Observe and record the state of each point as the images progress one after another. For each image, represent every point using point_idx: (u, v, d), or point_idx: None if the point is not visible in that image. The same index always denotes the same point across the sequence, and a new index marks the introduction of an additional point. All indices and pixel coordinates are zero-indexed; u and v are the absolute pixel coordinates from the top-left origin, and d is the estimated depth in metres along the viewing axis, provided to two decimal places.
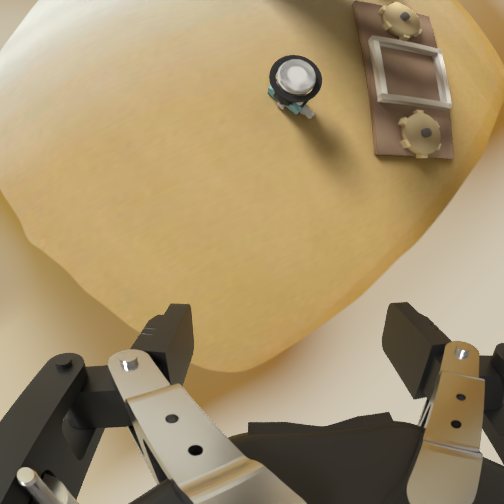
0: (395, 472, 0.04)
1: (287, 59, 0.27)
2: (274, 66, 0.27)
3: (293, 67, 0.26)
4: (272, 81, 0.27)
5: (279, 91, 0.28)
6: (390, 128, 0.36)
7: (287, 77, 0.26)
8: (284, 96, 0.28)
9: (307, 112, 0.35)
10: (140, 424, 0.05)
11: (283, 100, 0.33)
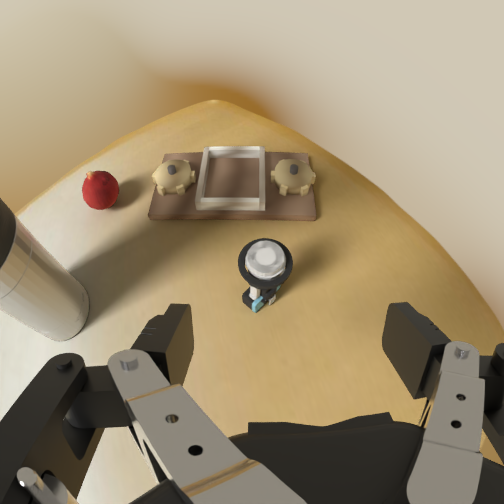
0: (396, 472, 0.04)
1: (243, 267, 0.30)
2: (251, 280, 0.29)
3: (257, 259, 0.29)
4: (269, 284, 0.29)
5: (281, 278, 0.30)
6: (290, 202, 0.44)
7: (269, 266, 0.29)
8: (287, 274, 0.30)
9: (281, 273, 0.38)
10: (140, 424, 0.05)
11: (273, 290, 0.35)
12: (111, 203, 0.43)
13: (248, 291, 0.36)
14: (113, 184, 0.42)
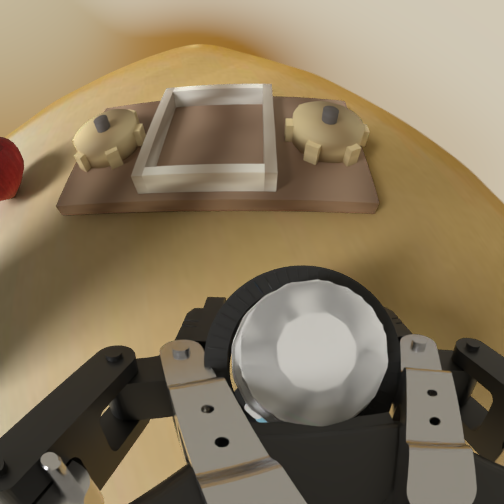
0: (396, 472, 0.04)
1: None
2: None
3: (283, 365, 0.06)
4: None
5: None
6: (326, 176, 0.21)
7: (333, 393, 0.06)
8: (386, 401, 0.07)
9: None
10: (175, 410, 0.05)
11: None
12: (7, 190, 0.20)
13: None
14: (7, 156, 0.19)
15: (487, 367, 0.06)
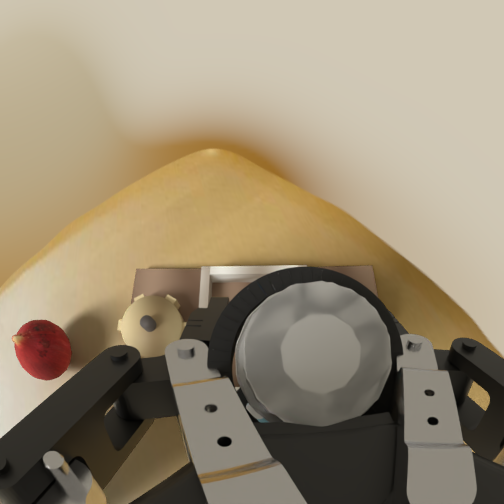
0: (396, 472, 0.04)
1: None
2: None
3: (287, 367, 0.06)
4: None
5: None
6: None
7: (337, 395, 0.06)
8: None
9: None
10: (179, 409, 0.05)
11: None
12: (63, 372, 0.23)
13: (243, 393, 0.13)
14: (57, 349, 0.22)
15: (484, 367, 0.06)
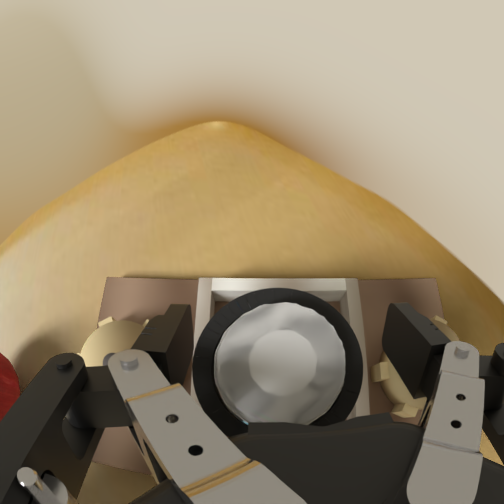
0: (396, 472, 0.04)
1: (207, 386, 0.09)
2: (233, 432, 0.08)
3: (253, 373, 0.08)
4: None
5: (329, 423, 0.08)
6: None
7: (295, 398, 0.08)
8: (347, 407, 0.08)
9: None
10: (140, 424, 0.05)
11: None
12: None
13: None
14: None
15: None
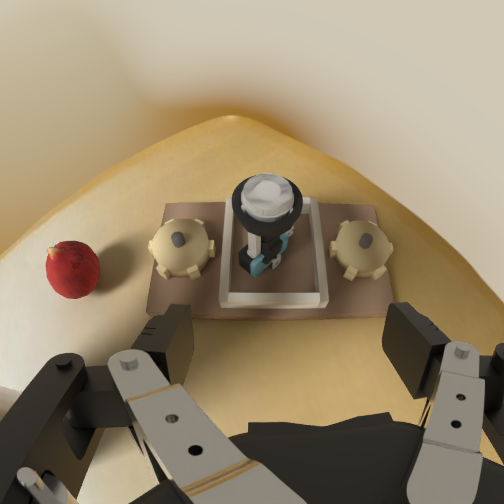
0: (396, 472, 0.04)
1: (237, 206, 0.23)
2: (248, 221, 0.22)
3: (256, 193, 0.22)
4: (273, 225, 0.22)
5: (288, 219, 0.22)
6: (359, 291, 0.29)
7: (272, 201, 0.22)
8: (296, 214, 0.22)
9: (287, 230, 0.31)
10: (140, 424, 0.05)
11: (278, 246, 0.27)
12: (90, 290, 0.28)
13: (246, 249, 0.28)
14: (89, 264, 0.27)
15: None
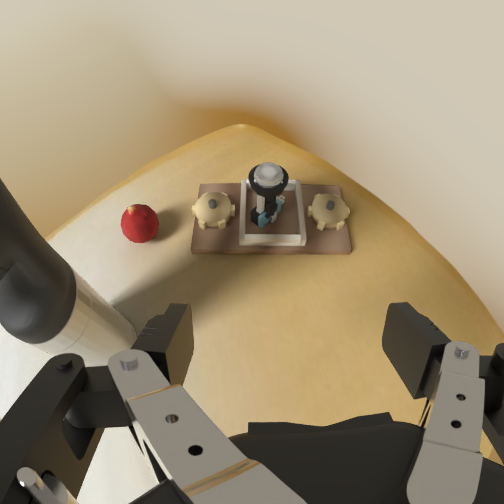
0: (395, 472, 0.04)
1: (252, 180, 0.40)
2: (258, 188, 0.40)
3: (262, 173, 0.40)
4: (271, 190, 0.39)
5: (280, 187, 0.40)
6: (327, 237, 0.47)
7: (271, 177, 0.39)
8: (284, 184, 0.40)
9: (280, 199, 0.48)
10: (140, 424, 0.05)
11: (274, 206, 0.45)
12: (152, 237, 0.45)
13: (255, 209, 0.46)
14: (154, 218, 0.44)
15: None
